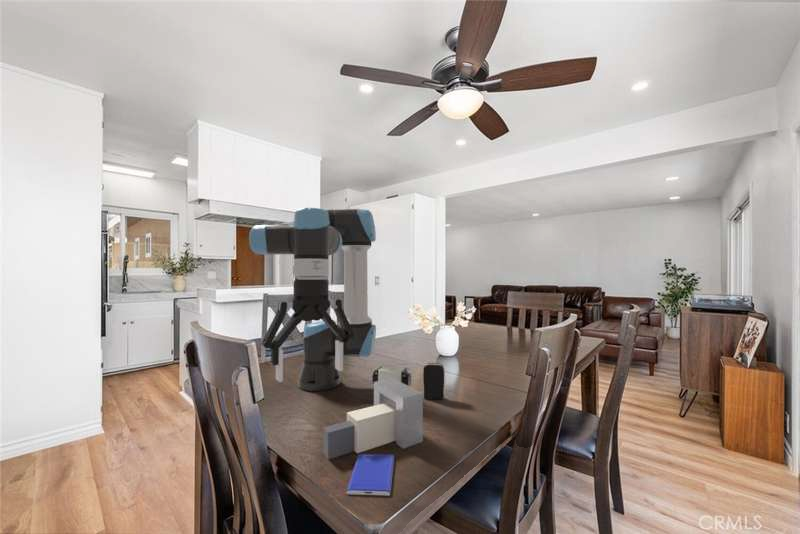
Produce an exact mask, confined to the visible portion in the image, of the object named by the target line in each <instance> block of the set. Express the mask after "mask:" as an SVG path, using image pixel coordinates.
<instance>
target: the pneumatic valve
mask: <svg viewBox="0 0 800 534" xmlns="http://www.w3.org/2000/svg"><path fill="white" fill-rule="evenodd" d="M390 378H393V379H395V380H397V381H399V382H401V383H404V384H406V385H408V386H410V387H411V384H412V374H411V373H410V372H409V371H408V368H407V367H397V366H396V367H395V366H394V365H391V364H390V366H383V365H380V366H379V367H378V368H377V369H376V370H374V371H373V373H372V381H371V382H372V384H373V385H374V382H376V381H381V380H386V379H390Z"/></svg>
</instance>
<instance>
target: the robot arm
mask: <svg viewBox="0 0 800 534" xmlns="http://www.w3.org/2000/svg"><path fill="white" fill-rule="evenodd" d="M293 217H294V219H293V220H290V221H286V222H281V223H276V224H261V225H260V224H259V225H257V224H256V225H254V226H253V227H251V229H250V231H249V235H248V240H249V247H250V249H251V251H252V252H253V253H254V254H257V255H266V256H269V255H293V277H294V278H296V279H294V280H293V299H292V302H286V301H284V300H283V301H282V300H280V301H278V303H277V311H276V313H275V315H274V318H273V319H272V321H271V323H270V325H269V328H268V329H267V331H266V333H265V335H264V336H263V339H262V341H261V345H262V346H263V348H266V349H270V362H271V365H272V366H275V380H276V381H277V382H279V383H280V382H281V383H282V382H283V381H284V349H282V348H281V346H283V344H284V343H285V342H286V340H288V338H289V337H290V336H291V334H292V332H294V330H295V329H296V327H298V325H300V324H301V323H302V321H304V322H311V321H315V322H312V323H308V324H306V325H304V328H303V336H302V339H303V340H302V341H303V342H302V343H303V344H302V345H303V355H302V356H303V364H302V367H301V371H300V374H299V375H298V382H297V386H298V388H299V389H300V390H303V391H309V392H320V391H327V390H331V389H334V388H336V387H339V385H340V384H341V376H340V373H339V372H344V357H345V358H348V357H349V358H354V357H355V358H362V357H363V358H364V357H367V358H368V357H370V356H371V355H372V354H373V352H374V347H375V342H376V336H377V326H376V325H375V324H373V321H372V318H371V317H370V316H369V315H368V313H369V311H368V310H369V309H368V302H369V301H368V295H369V294H368V251H369V250H370V248H372V242H375V241H376V239H377V237H376V236H377V235H376V234H377V233H376V226H375V221H374V216H373V213H372V212H371V211H370V210H369V209H364V208H362V209H360V208H354V209H353V208H352V209H348V208H347V209H346V208H345V209H324V208H318V207H317V208H316V207H302V208H298V209H296V210H295V212H294V216H293ZM341 249H342V251H343V297H344V298H343V303H342V300H341V299H339V298H334V299H332V300H329V289H330V288H329V287H330V285H329V280H328V279H326V278H328V277H329V268H330V267H329V263H330V262H329V259H330V258H329V256H333V255H335V254H337V253H338V252H339V251H340V250H341ZM343 304H344V305H343ZM329 308H331V309H332V310H333V311H334V314H335V317H336V318H337V320H338V322H339V324H337V322H336V320H334V319H332V317H331V316H330V314H329V313H328V312H327V311H328V309H329ZM343 308H344V309H343ZM290 309H292V310H293V311H294V313H293V315H292V316H291V317H290V320H289V321H288V322H287V323H286V325H285V326H284V327H283V328H282V330H280V332H279V333H278V331H279V329H280V327H281V325H282V323H283V322H284V319H285V317H286V315H287V313H288V312H289V311H290ZM277 333H278V334H277ZM276 335H277V336H276Z"/></svg>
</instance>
